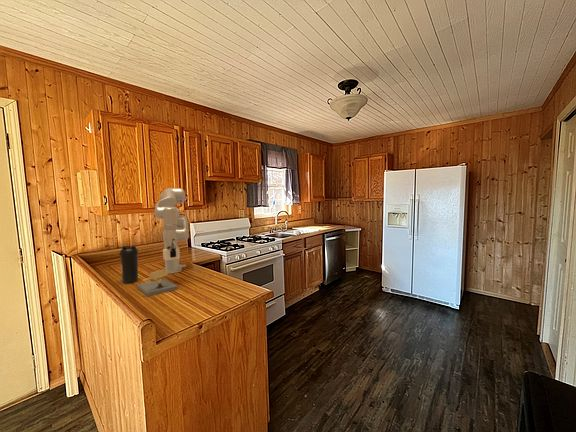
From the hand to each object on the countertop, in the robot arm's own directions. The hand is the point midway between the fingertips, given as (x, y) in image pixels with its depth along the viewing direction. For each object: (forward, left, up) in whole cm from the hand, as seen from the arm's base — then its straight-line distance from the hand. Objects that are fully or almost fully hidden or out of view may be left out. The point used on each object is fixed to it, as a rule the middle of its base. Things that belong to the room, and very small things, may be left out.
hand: (171, 256), depth 159 cm
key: (+12, +9, -15) cm, 21 cm away
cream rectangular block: (0, 0, -2) cm, 2 cm away
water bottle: (+18, -24, -18) cm, 34 cm away
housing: (+10, +3, -17) cm, 20 cm away
